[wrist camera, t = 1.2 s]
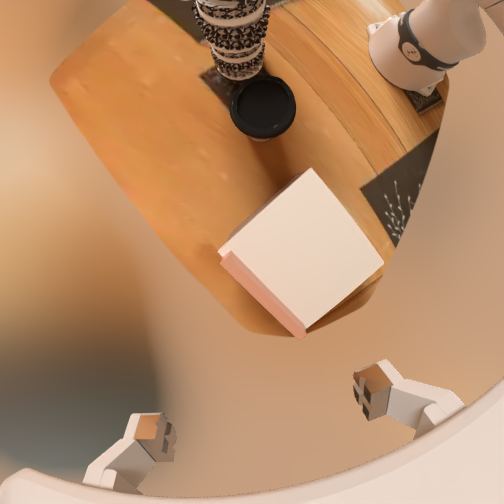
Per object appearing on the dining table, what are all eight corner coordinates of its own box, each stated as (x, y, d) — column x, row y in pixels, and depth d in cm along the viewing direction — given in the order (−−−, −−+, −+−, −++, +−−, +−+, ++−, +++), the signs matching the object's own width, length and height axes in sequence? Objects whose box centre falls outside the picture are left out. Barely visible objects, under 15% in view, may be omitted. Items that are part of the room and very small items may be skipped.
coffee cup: (294, 118, 42) (311, 94, 28) (268, 157, 44) (275, 149, 30) (252, 94, 41) (251, 61, 27) (226, 133, 43) (214, 114, 29)
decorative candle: (205, 53, 39) (169, -29, 15) (251, 34, 38) (250, -54, 14) (225, 90, 41) (199, 16, 17) (273, 70, 40) (290, -12, 16)
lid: (309, 167, 35) (316, 167, 31) (381, 260, 39) (393, 269, 35) (218, 249, 38) (214, 258, 34) (299, 330, 42) (302, 344, 38)
